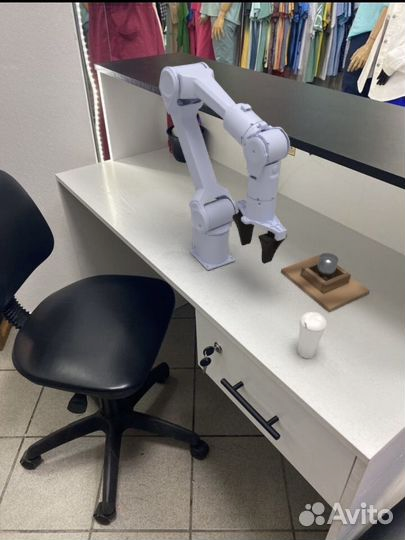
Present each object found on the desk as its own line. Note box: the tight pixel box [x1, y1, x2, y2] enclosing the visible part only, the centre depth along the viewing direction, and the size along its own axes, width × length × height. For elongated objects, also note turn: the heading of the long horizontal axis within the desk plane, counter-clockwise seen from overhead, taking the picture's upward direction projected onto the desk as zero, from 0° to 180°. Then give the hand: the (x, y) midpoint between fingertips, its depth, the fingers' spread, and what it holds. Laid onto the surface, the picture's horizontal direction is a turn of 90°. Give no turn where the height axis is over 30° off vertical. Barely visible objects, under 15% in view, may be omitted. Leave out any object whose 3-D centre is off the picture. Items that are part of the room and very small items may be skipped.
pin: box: [316, 252, 339, 281], centre depth 87 cm, size 4×4×6 cm
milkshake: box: [297, 311, 328, 360], centre depth 70 cm, size 4×5×10 cm
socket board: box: [280, 254, 371, 313], centre depth 89 cm, size 16×12×4 cm
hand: (255, 252), depth 83 cm, fingers open, 7 cm apart
